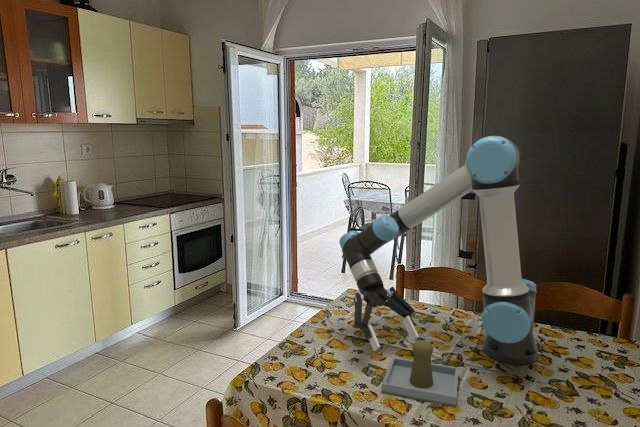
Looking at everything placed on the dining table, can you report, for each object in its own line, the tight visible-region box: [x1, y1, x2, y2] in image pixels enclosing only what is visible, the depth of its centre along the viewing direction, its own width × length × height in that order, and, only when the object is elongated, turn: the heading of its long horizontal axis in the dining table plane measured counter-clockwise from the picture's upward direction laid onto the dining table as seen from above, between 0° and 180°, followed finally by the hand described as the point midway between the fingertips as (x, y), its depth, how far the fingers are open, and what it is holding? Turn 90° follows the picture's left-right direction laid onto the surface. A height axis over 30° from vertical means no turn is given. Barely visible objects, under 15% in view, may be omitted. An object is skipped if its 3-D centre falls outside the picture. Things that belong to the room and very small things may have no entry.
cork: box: [410, 339, 434, 388], centre depth 114 cm, size 6×6×11 cm
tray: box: [381, 356, 460, 408], centre depth 115 cm, size 18×15×2 cm
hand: (396, 343), depth 123 cm, fingers open, 13 cm apart
